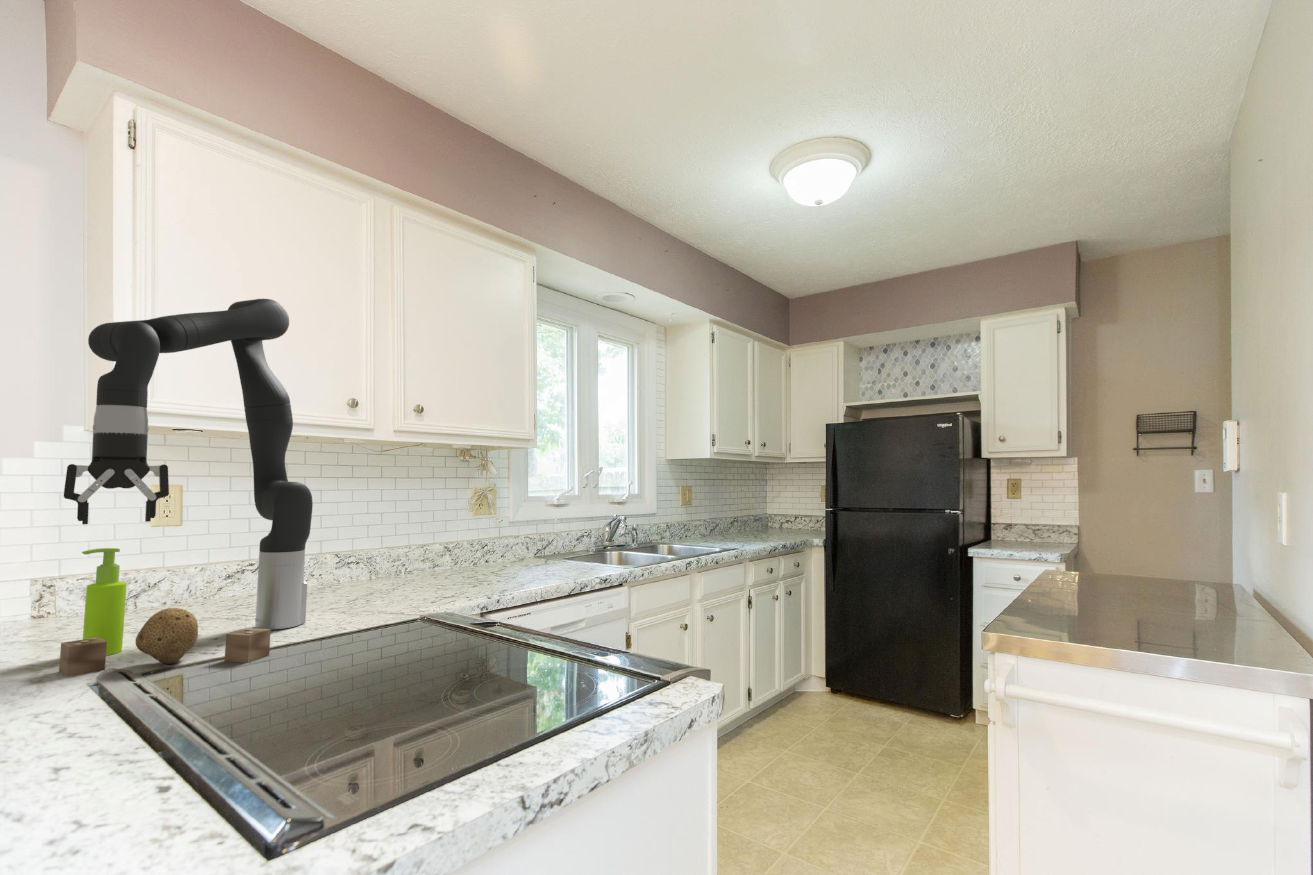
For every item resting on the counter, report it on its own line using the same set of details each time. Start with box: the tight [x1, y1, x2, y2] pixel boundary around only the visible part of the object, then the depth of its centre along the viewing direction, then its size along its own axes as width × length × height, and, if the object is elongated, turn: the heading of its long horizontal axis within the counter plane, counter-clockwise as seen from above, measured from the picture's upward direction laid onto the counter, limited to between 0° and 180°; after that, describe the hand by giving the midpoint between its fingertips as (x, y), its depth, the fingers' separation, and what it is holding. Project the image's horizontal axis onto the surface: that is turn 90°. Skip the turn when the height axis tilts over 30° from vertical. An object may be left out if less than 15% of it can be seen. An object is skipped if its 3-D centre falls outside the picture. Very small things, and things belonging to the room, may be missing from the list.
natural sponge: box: [135, 607, 199, 665], centre depth 115 cm, size 9×9×10 cm
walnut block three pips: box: [58, 637, 107, 678], centre depth 111 cm, size 5×5×5 cm
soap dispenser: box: [81, 547, 128, 657], centre depth 122 cm, size 6×7×20 cm
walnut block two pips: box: [224, 627, 272, 664], centre depth 119 cm, size 5×5×5 cm
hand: (117, 522), depth 113 cm, fingers open, 8 cm apart
